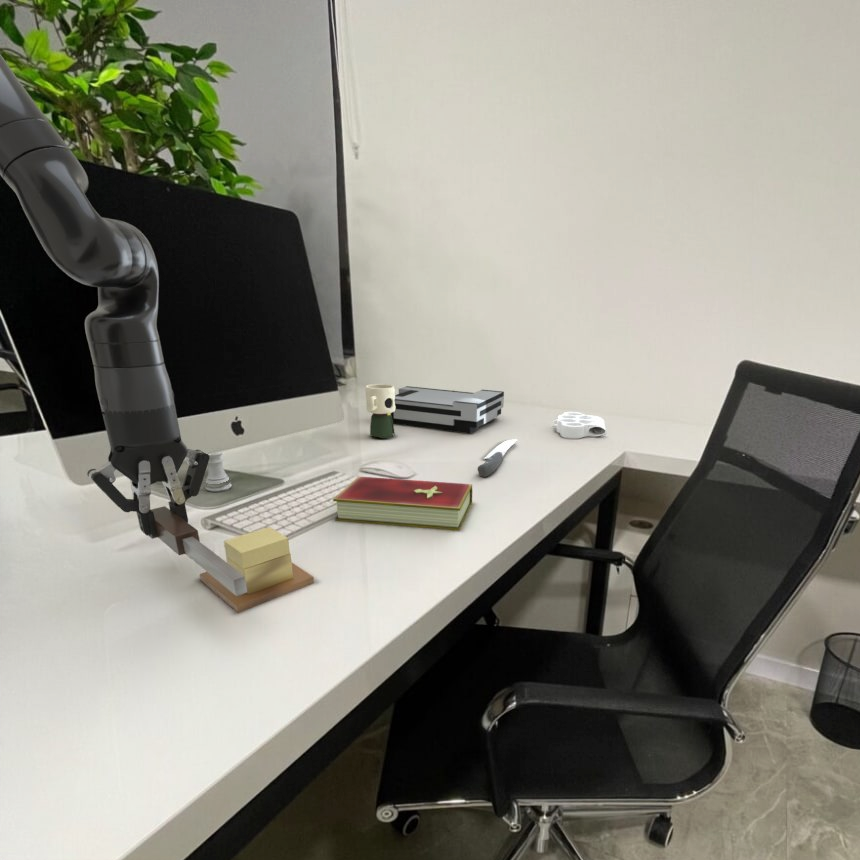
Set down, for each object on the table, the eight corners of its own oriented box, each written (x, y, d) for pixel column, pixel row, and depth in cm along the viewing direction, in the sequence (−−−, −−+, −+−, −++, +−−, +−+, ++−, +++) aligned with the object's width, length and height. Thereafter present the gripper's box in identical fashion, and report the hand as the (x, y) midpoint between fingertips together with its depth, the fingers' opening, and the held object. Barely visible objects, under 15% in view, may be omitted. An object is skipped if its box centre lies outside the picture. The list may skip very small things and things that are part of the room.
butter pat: (243, 569, 66) (240, 553, 65) (226, 556, 69) (223, 540, 68) (290, 553, 70) (288, 537, 70) (271, 541, 73) (269, 526, 72)
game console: (407, 408, 174) (406, 382, 171) (503, 419, 164) (504, 391, 161) (371, 422, 155) (369, 393, 152) (476, 435, 145) (476, 404, 142)
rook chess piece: (203, 487, 104) (195, 446, 101) (228, 483, 106) (222, 443, 103) (209, 494, 100) (202, 452, 97) (235, 489, 103) (229, 448, 100)
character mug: (386, 443, 135) (384, 390, 131) (360, 441, 137) (356, 388, 132) (403, 433, 145) (402, 383, 140) (378, 431, 147) (376, 381, 142)
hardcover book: (360, 495, 102) (359, 474, 101) (472, 503, 100) (472, 482, 99) (335, 521, 91) (332, 497, 90) (459, 530, 89) (459, 506, 87)
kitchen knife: (499, 437, 140) (517, 433, 139) (501, 446, 141) (520, 443, 140) (466, 469, 114) (489, 465, 112) (469, 480, 114) (492, 476, 113)
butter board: (238, 613, 65) (232, 580, 64) (200, 580, 72) (194, 549, 71) (314, 583, 72) (311, 552, 71) (273, 555, 79) (269, 527, 78)
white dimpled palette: (605, 440, 144) (549, 437, 146) (603, 425, 161) (552, 422, 162) (606, 428, 143) (550, 424, 145) (604, 413, 160) (553, 410, 161)
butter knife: (229, 599, 58) (225, 577, 57) (147, 529, 73) (143, 511, 73) (253, 589, 60) (250, 568, 59) (168, 523, 75) (165, 505, 74)
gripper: (187, 391, 73) (209, 510, 80) (59, 405, 64) (95, 540, 70) (211, 399, 69) (232, 525, 75) (76, 416, 59) (113, 559, 65)
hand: (166, 532), depth 72 cm, fingers closed on butter knife, 2 cm apart
